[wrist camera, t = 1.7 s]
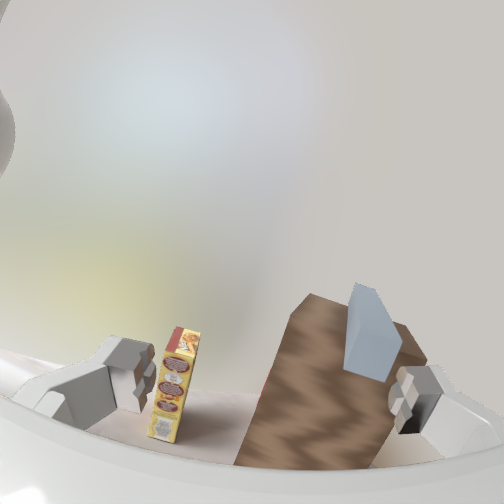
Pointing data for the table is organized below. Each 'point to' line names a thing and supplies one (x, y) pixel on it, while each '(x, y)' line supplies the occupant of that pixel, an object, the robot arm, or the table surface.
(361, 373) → the bar
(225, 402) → the table surface
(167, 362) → the candy box
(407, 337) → the plinth
